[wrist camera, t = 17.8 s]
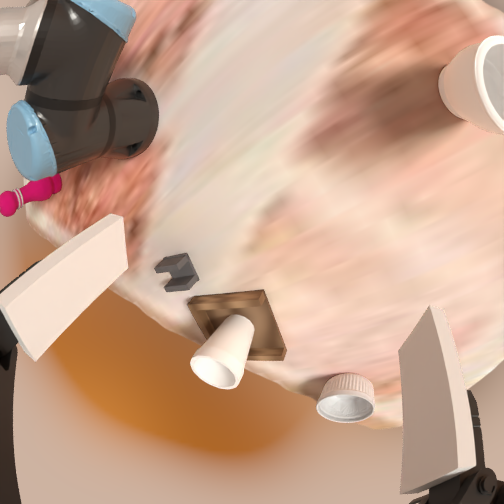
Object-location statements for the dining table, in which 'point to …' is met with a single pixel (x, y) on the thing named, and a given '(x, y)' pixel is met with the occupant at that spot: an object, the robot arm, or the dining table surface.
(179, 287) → the clip
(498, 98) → the jar
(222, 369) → the foam cup
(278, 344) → the end holder
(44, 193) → the pepper mill
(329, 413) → the ramekin
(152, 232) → the dining table surface
